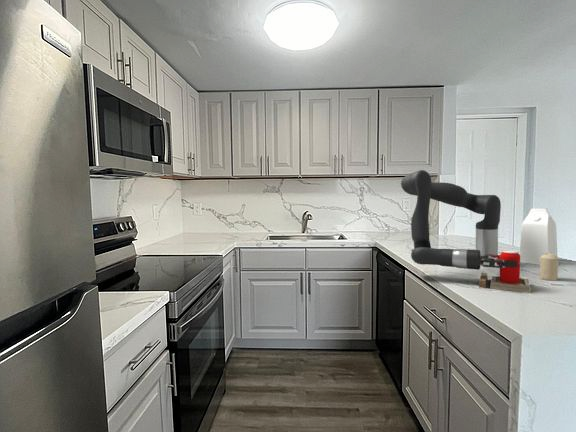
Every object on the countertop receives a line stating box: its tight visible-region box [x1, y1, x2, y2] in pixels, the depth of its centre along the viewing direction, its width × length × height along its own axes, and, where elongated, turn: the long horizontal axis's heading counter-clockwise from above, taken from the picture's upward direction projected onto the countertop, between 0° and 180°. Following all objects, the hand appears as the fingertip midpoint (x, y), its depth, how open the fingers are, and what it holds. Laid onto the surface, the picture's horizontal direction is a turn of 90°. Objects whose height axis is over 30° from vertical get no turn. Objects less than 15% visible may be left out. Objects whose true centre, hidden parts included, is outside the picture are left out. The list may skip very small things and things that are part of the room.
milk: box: [519, 208, 559, 266], centre depth 164 cm, size 12×12×26 cm
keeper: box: [489, 275, 532, 294], centre depth 125 cm, size 12×12×2 cm
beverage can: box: [499, 249, 521, 284], centre depth 125 cm, size 6×6×12 cm
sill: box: [478, 272, 488, 289], centre depth 131 cm, size 14×2×2 cm, turn 148°
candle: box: [539, 253, 559, 281], centre depth 134 cm, size 6×6×10 cm
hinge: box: [406, 239, 414, 252], centre depth 212 cm, size 17×5×10 cm, turn 169°
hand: (517, 262), depth 124 cm, fingers open, 7 cm apart
